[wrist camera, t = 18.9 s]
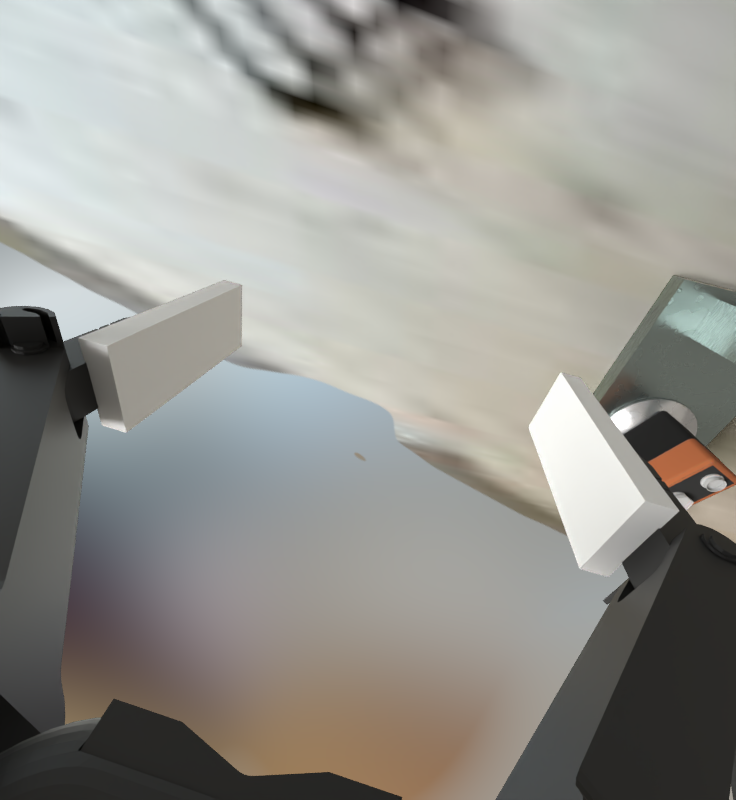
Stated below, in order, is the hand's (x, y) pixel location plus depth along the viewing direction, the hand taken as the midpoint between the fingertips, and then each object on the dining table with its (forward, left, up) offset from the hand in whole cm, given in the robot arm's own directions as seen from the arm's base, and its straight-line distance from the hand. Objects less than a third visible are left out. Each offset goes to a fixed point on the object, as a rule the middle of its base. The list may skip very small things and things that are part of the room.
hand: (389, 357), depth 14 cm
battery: (+13, +32, -26) cm, 44 cm away
